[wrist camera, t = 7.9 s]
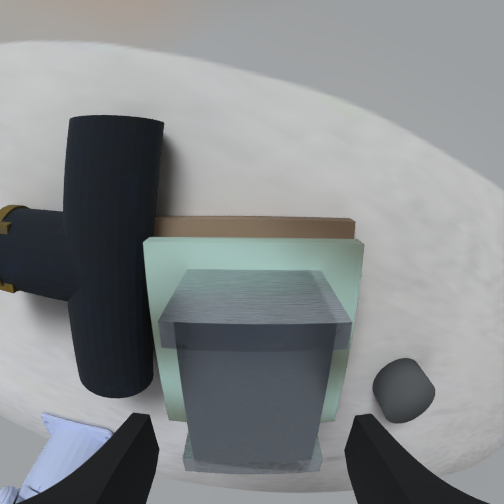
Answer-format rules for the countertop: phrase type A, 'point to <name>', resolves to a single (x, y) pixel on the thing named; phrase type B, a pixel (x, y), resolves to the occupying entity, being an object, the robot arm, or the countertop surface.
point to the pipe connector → (95, 249)
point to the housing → (254, 366)
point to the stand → (250, 258)
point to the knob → (403, 390)
